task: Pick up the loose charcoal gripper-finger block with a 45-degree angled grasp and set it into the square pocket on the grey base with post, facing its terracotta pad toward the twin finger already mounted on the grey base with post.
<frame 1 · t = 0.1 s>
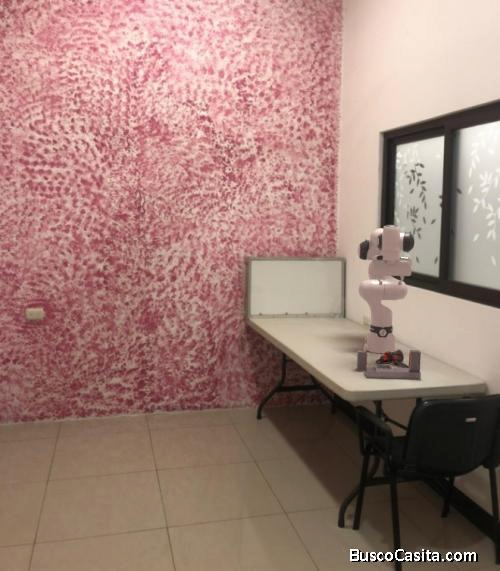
hand: (390, 285, 300), 39 cm above the table, tool pointing down, fingers open, 8 cm apart
grey base with post: (392, 376, 277), on the table
finger block: (361, 369, 288), on the table
valve: (393, 366, 298), on the table
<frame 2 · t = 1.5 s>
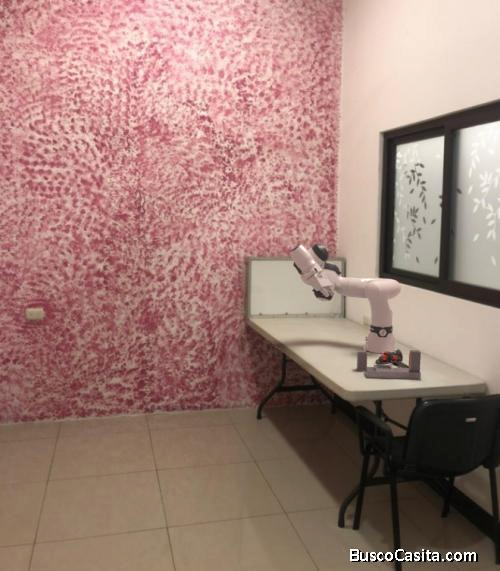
hand: (330, 295, 291), 35 cm above the table, tool tilted 40°, fingers open, 8 cm apart
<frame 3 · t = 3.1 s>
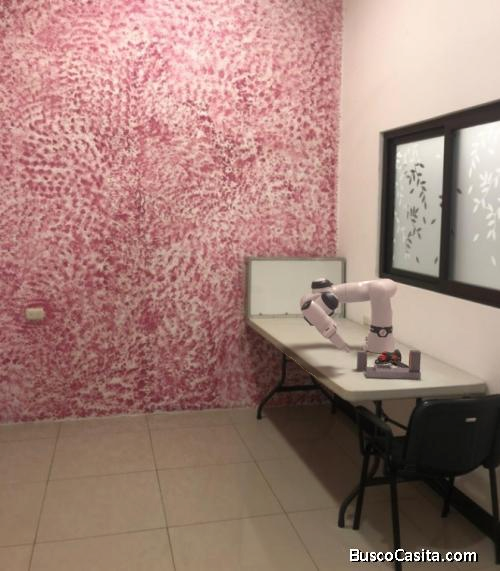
hand: (348, 349, 287), 10 cm above the table, tool tilted 45°, fingers open, 8 cm apart
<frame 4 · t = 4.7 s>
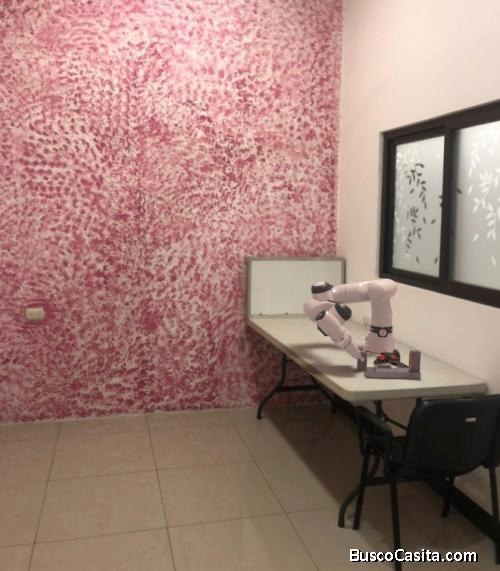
hand: (363, 359, 287), 5 cm above the table, tool tilted 45°, fingers closed on finger block, 4 cm apart
finger block: (361, 369, 288), on the table, touching gripper
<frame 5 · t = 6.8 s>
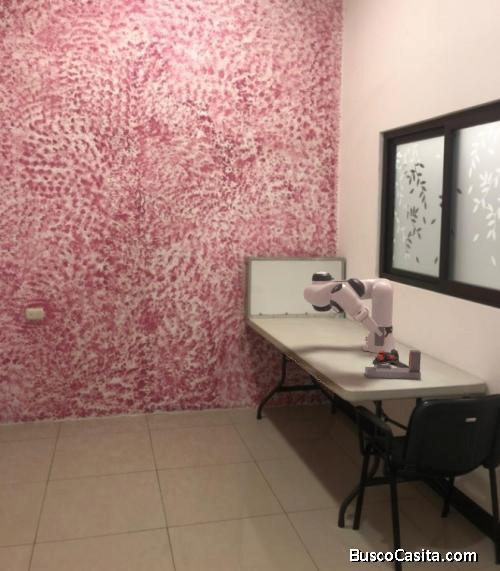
hand: (380, 334, 276), 19 cm above the table, tool tilted 45°, fingers closed on finger block, 4 cm apart
finger block: (378, 345, 277), point 14 cm above the table, touching gripper
when the fingers open (10 cm above the table, at t = 9.0 s): finger block drops 2 cm, resting on grey base with post.
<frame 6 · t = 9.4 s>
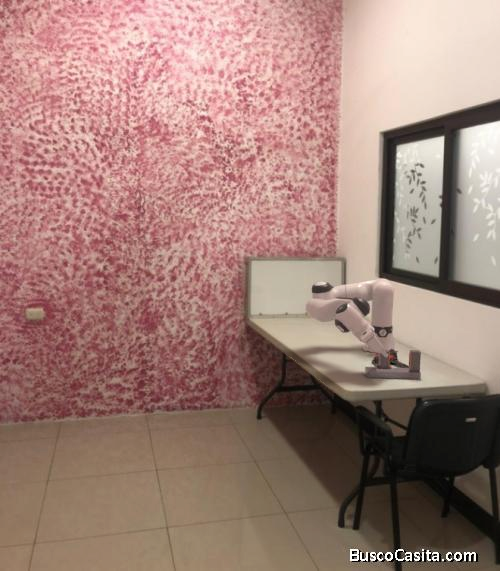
hand: (385, 353, 276), 10 cm above the table, tool tilted 45°, fingers open, 8 cm apart
finger block: (383, 369, 277), point 3 cm above the table, touching grey base with post
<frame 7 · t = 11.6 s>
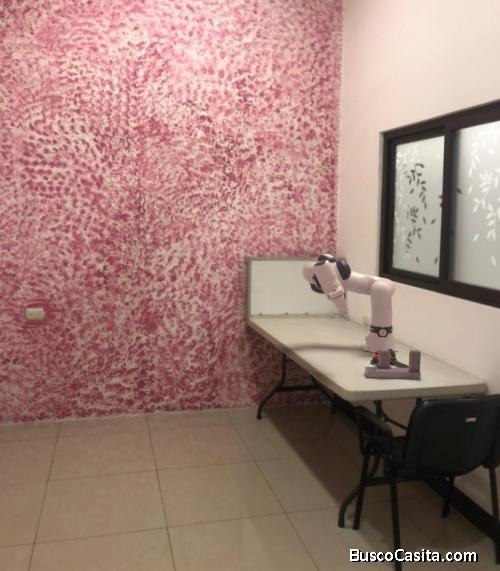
hand: (347, 319, 278), 25 cm above the table, tool tilted 30°, fingers open, 8 cm apart
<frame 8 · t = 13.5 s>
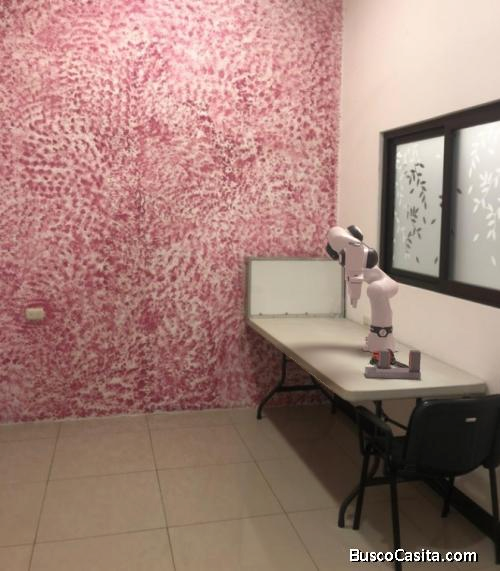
hand: (353, 306, 281), 31 cm above the table, tool pointing down, fingers open, 8 cm apart
at the end: finger block 0.1 cm from the target spot on the grey base with post, point 3.0 cm above the grey base with post's base; finger block tilted 0°; the gripper is holding nothing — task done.
